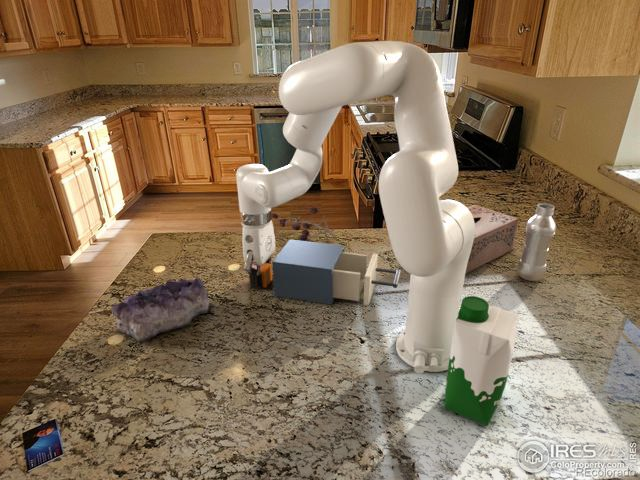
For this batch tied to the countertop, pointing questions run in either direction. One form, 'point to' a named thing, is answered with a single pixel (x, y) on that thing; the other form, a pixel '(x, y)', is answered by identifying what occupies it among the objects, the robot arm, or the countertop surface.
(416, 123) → the robot arm
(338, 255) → the blue cabinet body
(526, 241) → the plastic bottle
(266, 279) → the orange foam cube
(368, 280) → the cabinet drawer
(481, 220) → the tissue box cover
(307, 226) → the decorative branch
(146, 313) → the geode
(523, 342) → the countertop surface
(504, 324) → the milk carton
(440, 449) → the countertop surface
